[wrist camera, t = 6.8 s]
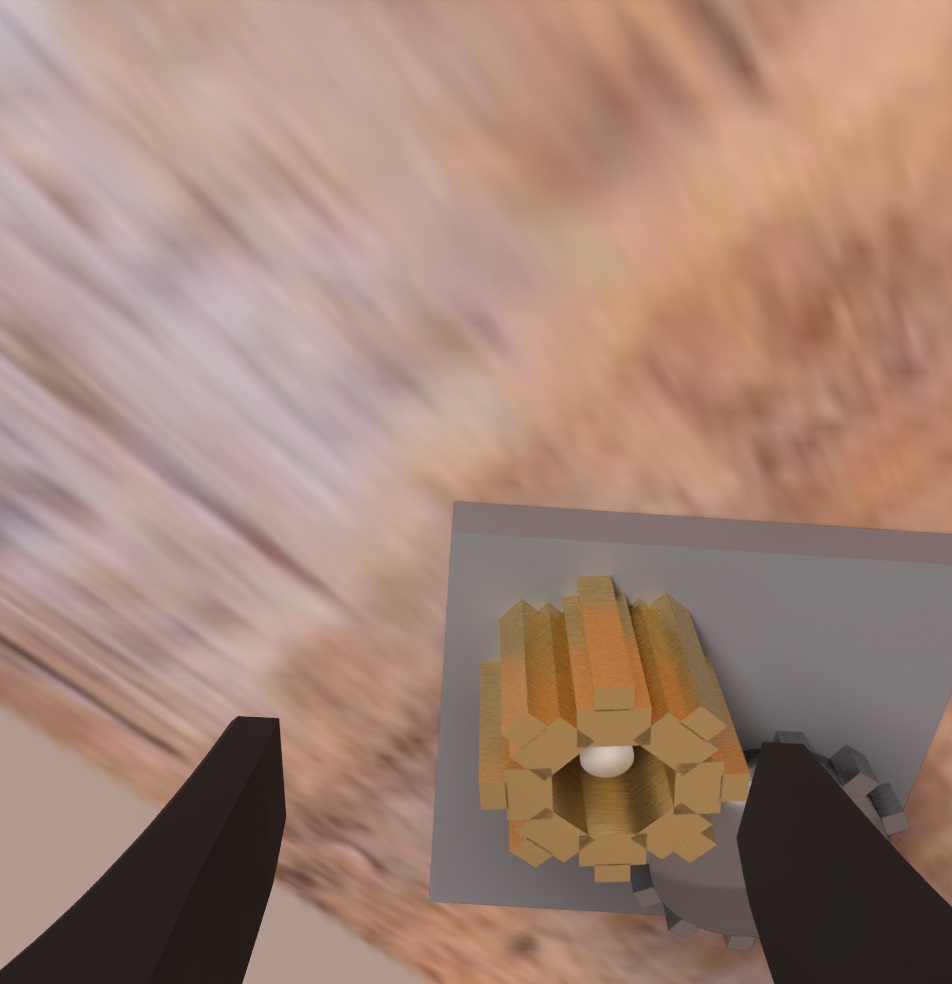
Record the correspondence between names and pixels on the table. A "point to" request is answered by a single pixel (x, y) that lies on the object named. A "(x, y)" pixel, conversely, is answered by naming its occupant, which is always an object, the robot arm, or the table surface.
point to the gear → (718, 873)
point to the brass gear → (606, 732)
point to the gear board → (722, 634)
